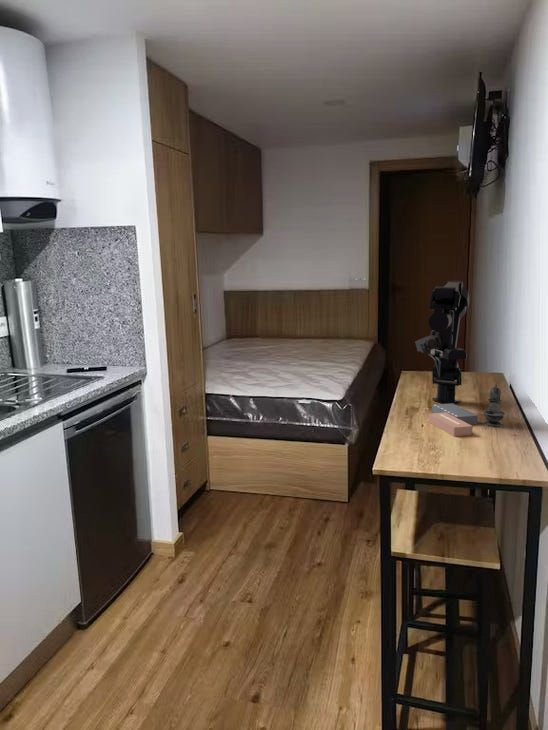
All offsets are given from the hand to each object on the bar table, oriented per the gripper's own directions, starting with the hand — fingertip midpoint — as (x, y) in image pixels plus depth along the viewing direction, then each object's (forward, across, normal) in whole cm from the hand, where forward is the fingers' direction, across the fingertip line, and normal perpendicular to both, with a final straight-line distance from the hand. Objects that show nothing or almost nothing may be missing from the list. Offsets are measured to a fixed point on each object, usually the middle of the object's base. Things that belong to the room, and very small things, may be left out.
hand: (440, 377), depth 176 cm
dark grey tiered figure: (+11, +17, +8) cm, 22 cm away
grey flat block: (+11, +8, 0) cm, 14 cm away
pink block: (+11, +17, -6) cm, 21 cm away
